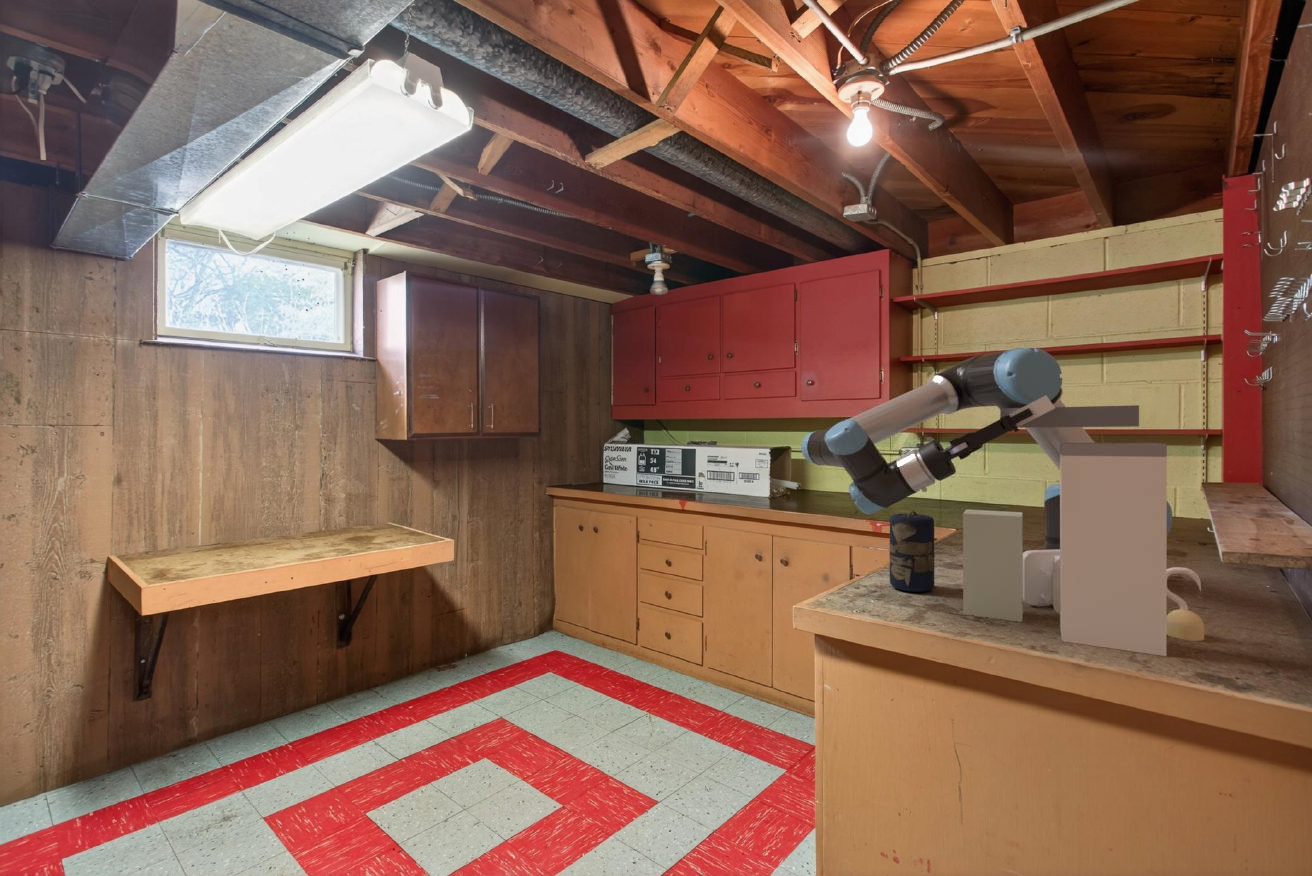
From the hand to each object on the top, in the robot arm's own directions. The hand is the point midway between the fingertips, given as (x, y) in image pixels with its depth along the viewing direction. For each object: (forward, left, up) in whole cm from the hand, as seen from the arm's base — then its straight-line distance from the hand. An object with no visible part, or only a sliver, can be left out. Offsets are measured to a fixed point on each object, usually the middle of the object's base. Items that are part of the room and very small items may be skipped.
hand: (1050, 402), depth 109 cm
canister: (-20, -26, -42) cm, 53 cm away
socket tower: (0, +9, -41) cm, 42 cm away
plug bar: (0, +2, -5) cm, 5 cm away
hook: (-10, +20, -42) cm, 47 cm away
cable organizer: (-18, +4, -42) cm, 46 cm away
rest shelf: (-8, -9, -41) cm, 43 cm away
